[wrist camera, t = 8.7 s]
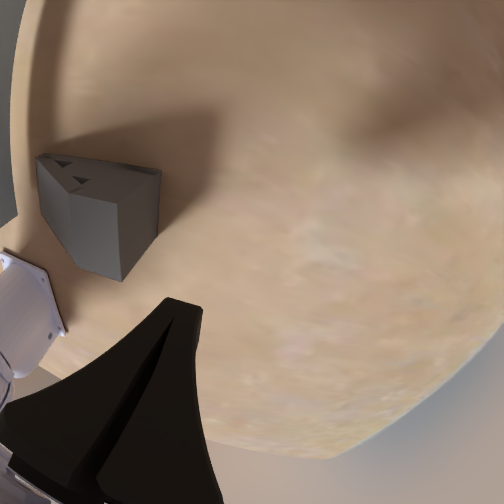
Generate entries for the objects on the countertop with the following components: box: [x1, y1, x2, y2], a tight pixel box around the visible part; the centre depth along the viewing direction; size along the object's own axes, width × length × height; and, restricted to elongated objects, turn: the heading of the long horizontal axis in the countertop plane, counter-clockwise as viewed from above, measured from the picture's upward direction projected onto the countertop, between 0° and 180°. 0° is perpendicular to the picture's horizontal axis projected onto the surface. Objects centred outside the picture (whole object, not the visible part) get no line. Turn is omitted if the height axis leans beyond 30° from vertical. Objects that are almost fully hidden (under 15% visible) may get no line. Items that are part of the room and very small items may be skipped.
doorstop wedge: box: [35, 153, 161, 282], centre depth 15 cm, size 10×4×5 cm, turn 78°
